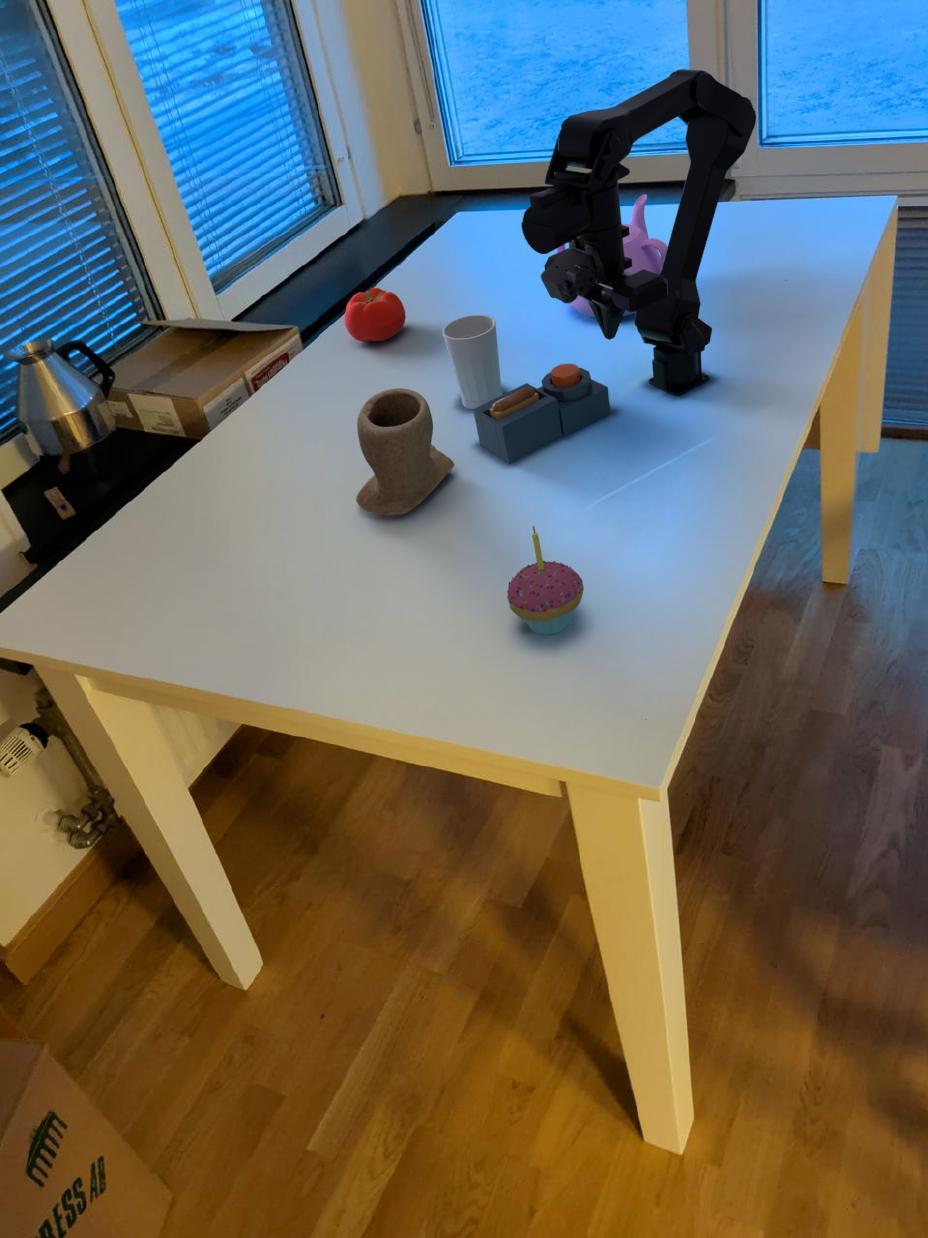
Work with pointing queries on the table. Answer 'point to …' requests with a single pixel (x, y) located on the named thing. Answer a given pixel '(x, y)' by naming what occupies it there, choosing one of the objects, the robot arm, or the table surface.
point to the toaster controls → (578, 401)
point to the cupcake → (545, 593)
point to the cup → (474, 358)
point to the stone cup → (398, 452)
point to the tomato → (374, 315)
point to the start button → (565, 375)
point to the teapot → (633, 252)
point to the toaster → (519, 427)
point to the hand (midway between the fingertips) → (610, 337)
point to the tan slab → (513, 403)
